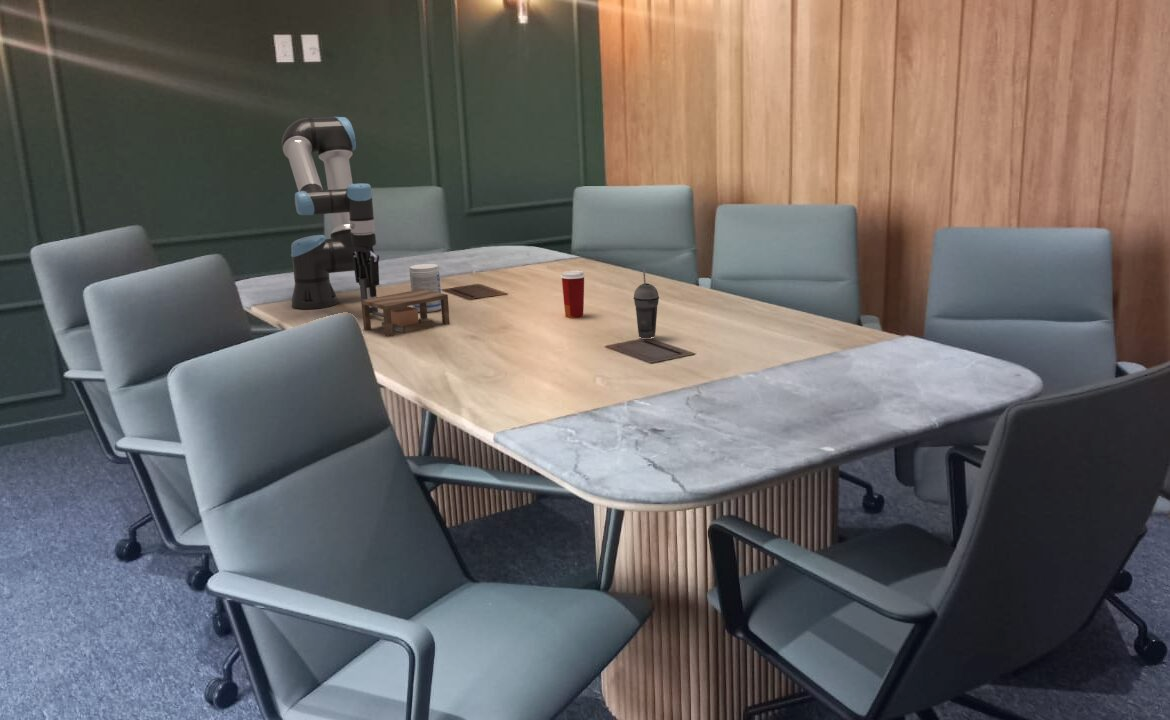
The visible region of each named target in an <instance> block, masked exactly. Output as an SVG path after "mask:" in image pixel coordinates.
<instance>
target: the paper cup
mask: <svg viewBox="0 0 1170 720" xmlns="http://www.w3.org/2000/svg"><path fill="white" fill-rule="evenodd" d="M585 277H586V275H585V272H584V271H582V270H565V271H562V272H561V275H560V278H561V283H562V284H561V287H562V294H563V295H562V296H563V305H564V315H565V318H567V319H580V317H581V318H583V317H584V306H585V305H584V304H585V303H584V301H585Z"/></svg>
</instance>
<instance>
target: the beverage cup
mask: <svg viewBox="0 0 1170 720" xmlns="http://www.w3.org/2000/svg"><path fill="white" fill-rule="evenodd" d="M645 270H646V269H645V267H642V274H643V275H642V276H643V283H641V284H640V285H638V286H637V288H635V291H634V292H633V301H634V306H635V313H636V324H637V332H638V338H639V337H641V338H651V337H654V336H655V337H656V331H657V316H658V305H659V299H660V297H659V292H658V290H657V288H656V286H655V285H653V284H651V283H648V282H646V271H645Z"/></svg>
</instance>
